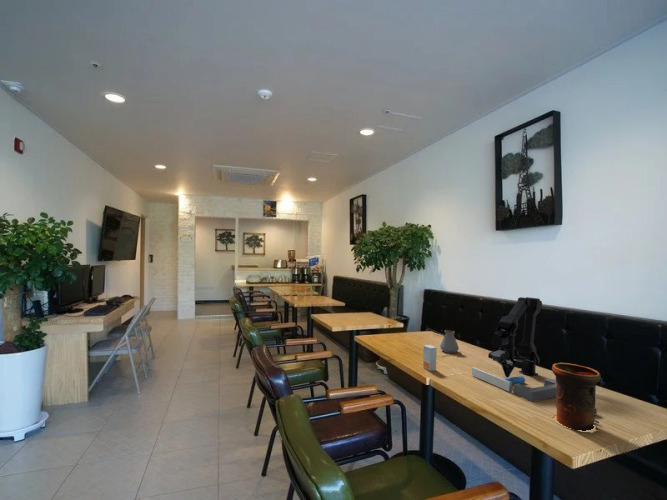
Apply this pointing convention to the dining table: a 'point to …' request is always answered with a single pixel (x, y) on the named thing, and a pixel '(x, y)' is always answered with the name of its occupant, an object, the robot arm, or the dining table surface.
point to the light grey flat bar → (492, 379)
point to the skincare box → (429, 357)
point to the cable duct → (537, 391)
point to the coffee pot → (448, 341)
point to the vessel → (575, 395)
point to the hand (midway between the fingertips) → (507, 377)
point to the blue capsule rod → (516, 380)
